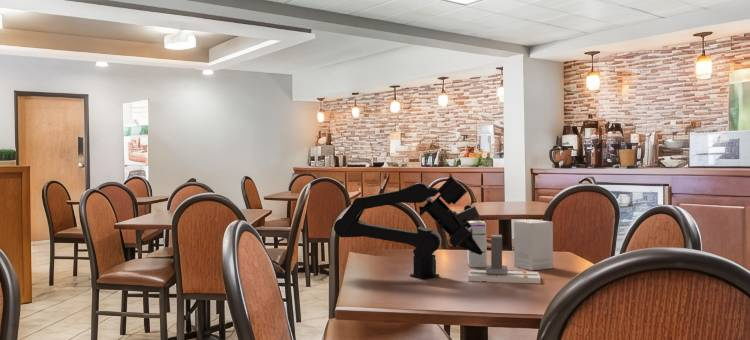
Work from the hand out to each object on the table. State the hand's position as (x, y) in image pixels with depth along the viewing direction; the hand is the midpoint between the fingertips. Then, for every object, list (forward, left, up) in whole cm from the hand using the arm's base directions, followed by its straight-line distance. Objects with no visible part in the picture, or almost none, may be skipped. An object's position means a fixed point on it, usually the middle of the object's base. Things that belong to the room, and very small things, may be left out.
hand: (481, 253), depth 173 cm
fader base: (+3, -4, -7) cm, 9 cm away
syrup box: (+15, +13, -7) cm, 21 cm away
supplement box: (+26, -1, -7) cm, 27 cm away
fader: (+3, -3, -5) cm, 7 cm away
